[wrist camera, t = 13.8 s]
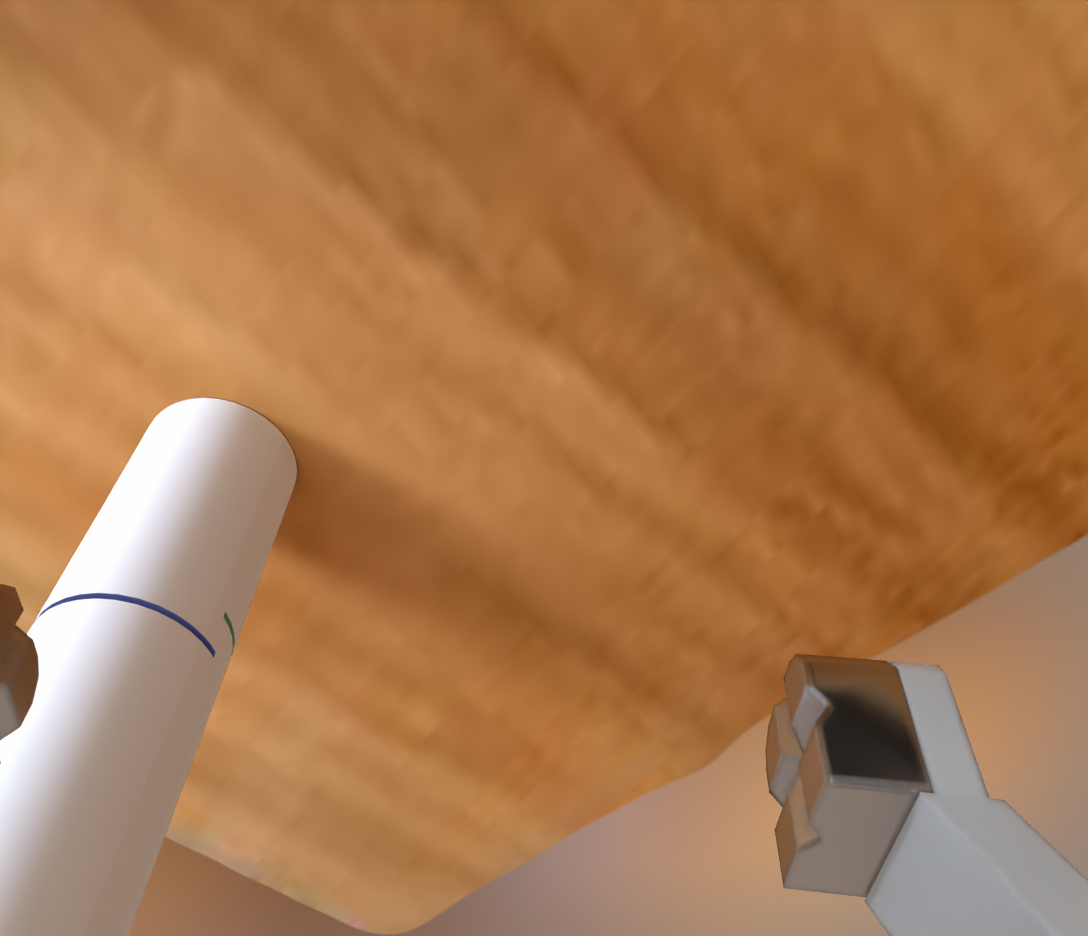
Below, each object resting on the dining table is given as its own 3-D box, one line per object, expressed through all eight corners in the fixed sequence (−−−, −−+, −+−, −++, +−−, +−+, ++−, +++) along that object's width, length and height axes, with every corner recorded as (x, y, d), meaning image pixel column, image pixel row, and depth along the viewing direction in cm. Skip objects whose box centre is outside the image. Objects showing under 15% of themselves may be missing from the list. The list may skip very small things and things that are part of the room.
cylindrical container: (241, 377, 46) (-24, 907, 27) (325, 492, 50) (147, 1029, 31) (113, 427, 48) (-220, 954, 29) (204, 534, 52) (-36, 1063, 33)
